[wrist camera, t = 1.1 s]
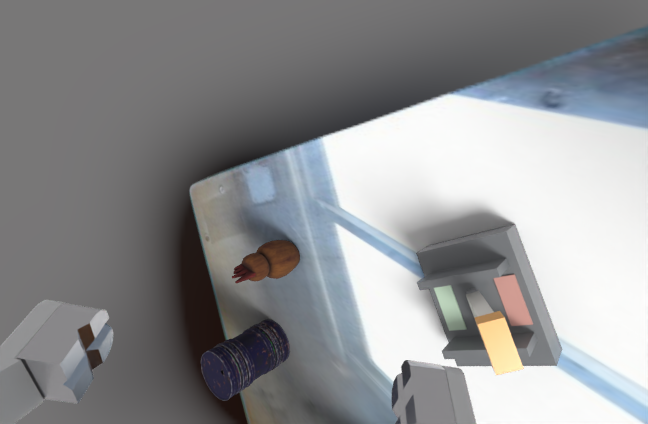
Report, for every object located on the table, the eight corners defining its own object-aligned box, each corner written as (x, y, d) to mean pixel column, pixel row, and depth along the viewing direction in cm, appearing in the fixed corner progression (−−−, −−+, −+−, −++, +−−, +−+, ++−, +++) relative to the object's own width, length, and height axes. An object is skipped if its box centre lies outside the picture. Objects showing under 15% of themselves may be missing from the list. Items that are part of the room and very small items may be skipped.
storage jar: (272, 366, 84) (215, 404, 73) (252, 326, 86) (194, 357, 75) (297, 356, 78) (239, 396, 66) (275, 313, 79) (215, 344, 68)
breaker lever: (479, 284, 46) (504, 317, 33) (493, 321, 46) (523, 369, 33) (460, 290, 47) (477, 324, 34) (473, 326, 46) (496, 375, 34)
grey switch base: (515, 224, 46) (496, 240, 40) (562, 349, 45) (550, 384, 39) (428, 245, 54) (402, 261, 48) (467, 352, 53) (445, 382, 47)
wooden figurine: (309, 255, 70) (245, 281, 58) (297, 274, 73) (234, 303, 62) (287, 230, 72) (222, 251, 61) (276, 250, 75) (213, 273, 64)
